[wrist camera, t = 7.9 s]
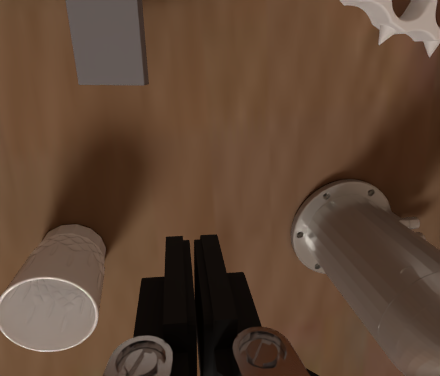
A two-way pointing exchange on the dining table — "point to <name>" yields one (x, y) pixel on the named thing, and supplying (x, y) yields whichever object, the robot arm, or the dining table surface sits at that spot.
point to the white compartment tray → (403, 20)
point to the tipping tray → (108, 41)
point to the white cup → (56, 291)
